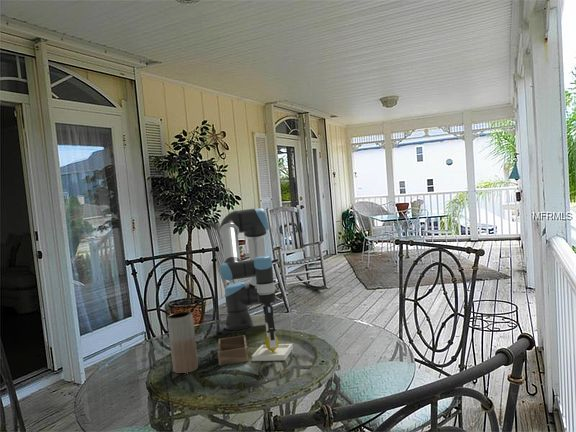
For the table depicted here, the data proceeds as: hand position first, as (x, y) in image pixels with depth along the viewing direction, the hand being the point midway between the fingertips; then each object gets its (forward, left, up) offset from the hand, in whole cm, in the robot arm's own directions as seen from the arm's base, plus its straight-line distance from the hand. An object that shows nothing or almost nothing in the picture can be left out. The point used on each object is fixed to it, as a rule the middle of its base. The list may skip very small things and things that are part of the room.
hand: (271, 342), depth 186 cm
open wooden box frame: (0, -18, -5) cm, 19 cm away
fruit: (0, 0, -4) cm, 4 cm away
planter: (+15, -33, -5) cm, 37 cm away
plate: (0, 0, -5) cm, 5 cm away
